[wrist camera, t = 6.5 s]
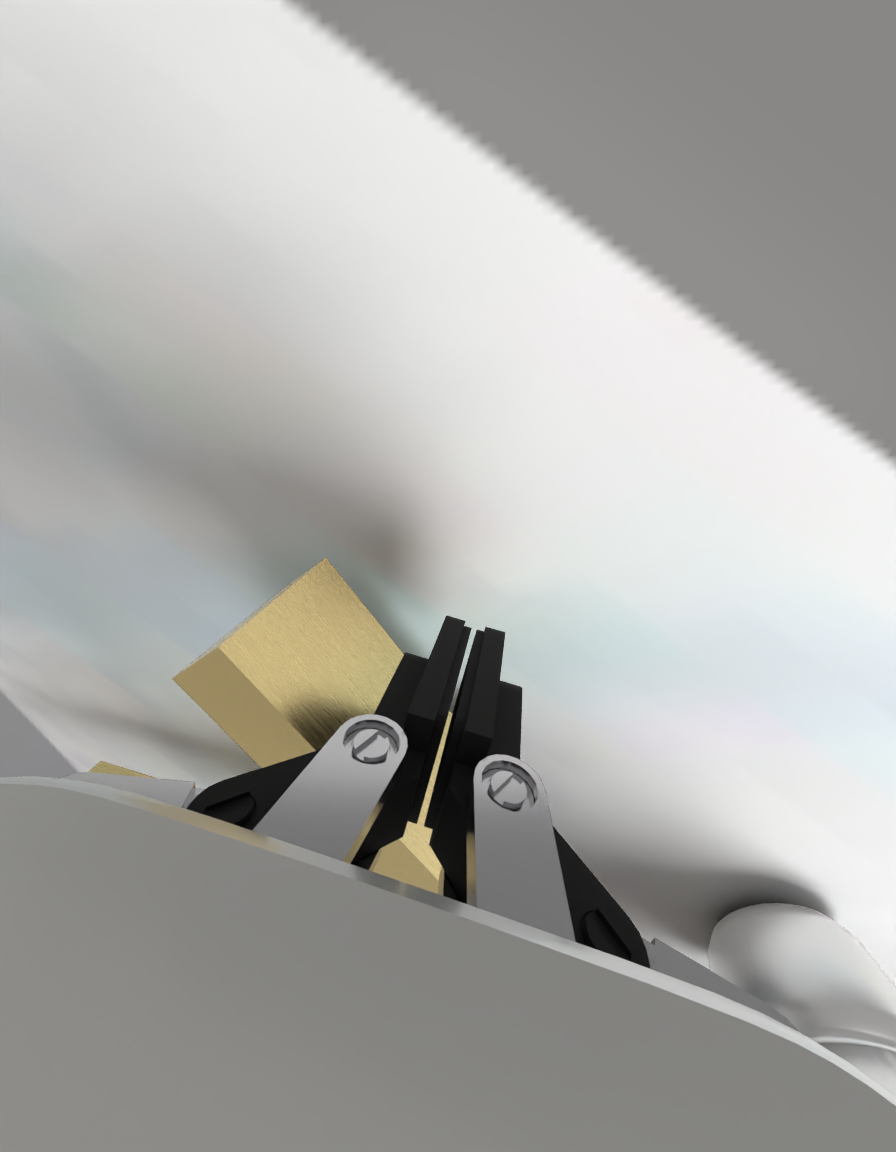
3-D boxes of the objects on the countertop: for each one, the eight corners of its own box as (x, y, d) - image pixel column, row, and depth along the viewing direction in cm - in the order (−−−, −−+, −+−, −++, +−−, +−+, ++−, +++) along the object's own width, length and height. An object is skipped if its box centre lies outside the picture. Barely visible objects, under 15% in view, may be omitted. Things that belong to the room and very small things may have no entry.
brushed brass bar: (530, 738, 18) (533, 956, 11) (474, 759, 19) (445, 972, 12) (367, 524, 15) (237, 634, 8) (313, 563, 16) (156, 689, 9)
